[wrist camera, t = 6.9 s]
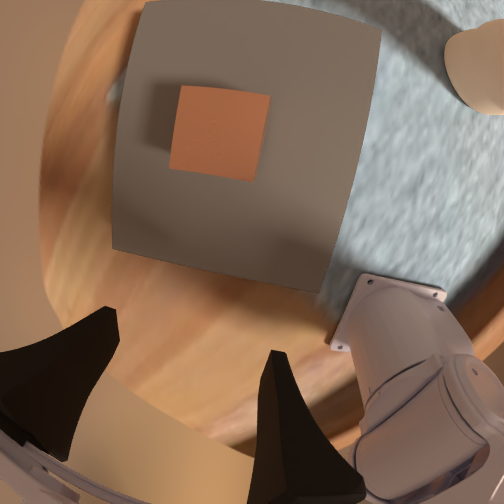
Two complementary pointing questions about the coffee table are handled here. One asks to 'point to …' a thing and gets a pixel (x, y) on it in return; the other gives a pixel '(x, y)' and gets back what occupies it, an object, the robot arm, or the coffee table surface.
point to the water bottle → (478, 66)
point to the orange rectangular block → (220, 132)
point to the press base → (275, 144)
